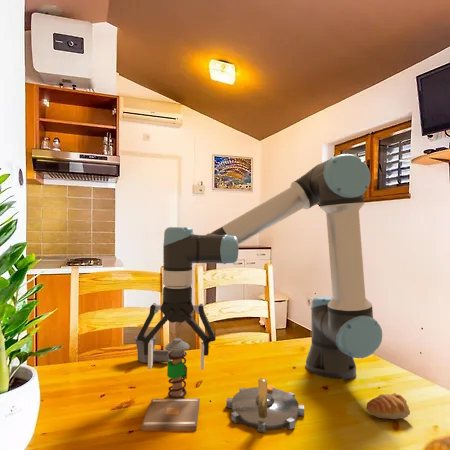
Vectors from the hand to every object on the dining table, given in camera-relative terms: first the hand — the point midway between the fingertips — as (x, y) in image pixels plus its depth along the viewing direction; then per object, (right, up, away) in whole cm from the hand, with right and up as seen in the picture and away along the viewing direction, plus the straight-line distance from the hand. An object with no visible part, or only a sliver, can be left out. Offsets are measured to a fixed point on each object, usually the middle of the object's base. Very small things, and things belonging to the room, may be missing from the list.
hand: (176, 367), depth 91 cm
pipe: (-11, -8, +23) cm, 27 cm away
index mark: (+25, -8, +4) cm, 26 cm away
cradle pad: (0, -8, -9) cm, 12 cm away
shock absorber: (0, -8, 0) cm, 8 cm away
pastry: (+49, -9, -6) cm, 50 cm away
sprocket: (+22, -8, -7) cm, 25 cm away
